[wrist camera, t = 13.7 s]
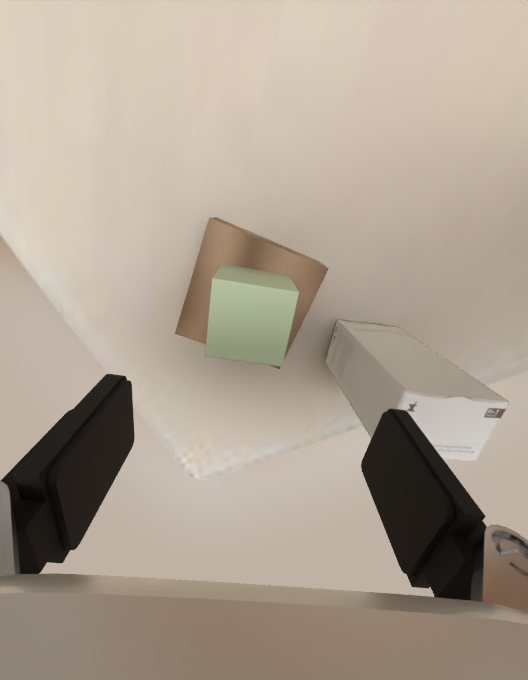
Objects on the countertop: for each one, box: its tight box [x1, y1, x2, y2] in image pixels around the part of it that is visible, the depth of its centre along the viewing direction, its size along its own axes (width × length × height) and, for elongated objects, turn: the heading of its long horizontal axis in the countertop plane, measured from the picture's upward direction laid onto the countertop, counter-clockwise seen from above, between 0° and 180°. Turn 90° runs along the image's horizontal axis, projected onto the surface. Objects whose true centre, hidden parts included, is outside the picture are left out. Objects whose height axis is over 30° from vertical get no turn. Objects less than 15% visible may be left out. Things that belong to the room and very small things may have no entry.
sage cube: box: [205, 264, 299, 366], centre depth 23 cm, size 6×6×6 cm
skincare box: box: [326, 320, 509, 461], centre depth 26 cm, size 8×6×15 cm
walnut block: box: [175, 218, 328, 369], centre depth 28 cm, size 11×11×5 cm
